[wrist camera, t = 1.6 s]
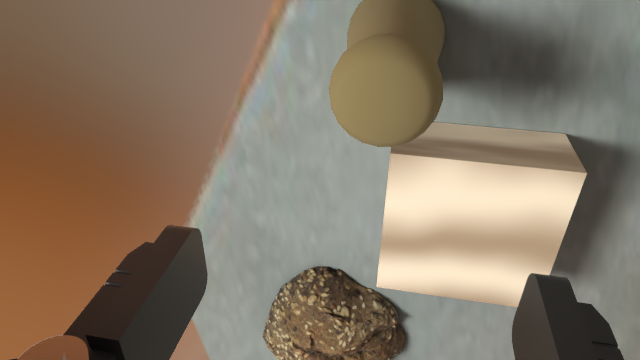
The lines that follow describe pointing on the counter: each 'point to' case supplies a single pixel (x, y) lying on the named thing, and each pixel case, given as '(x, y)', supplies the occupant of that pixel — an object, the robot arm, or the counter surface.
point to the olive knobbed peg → (389, 72)
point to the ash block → (476, 211)
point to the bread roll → (331, 320)
